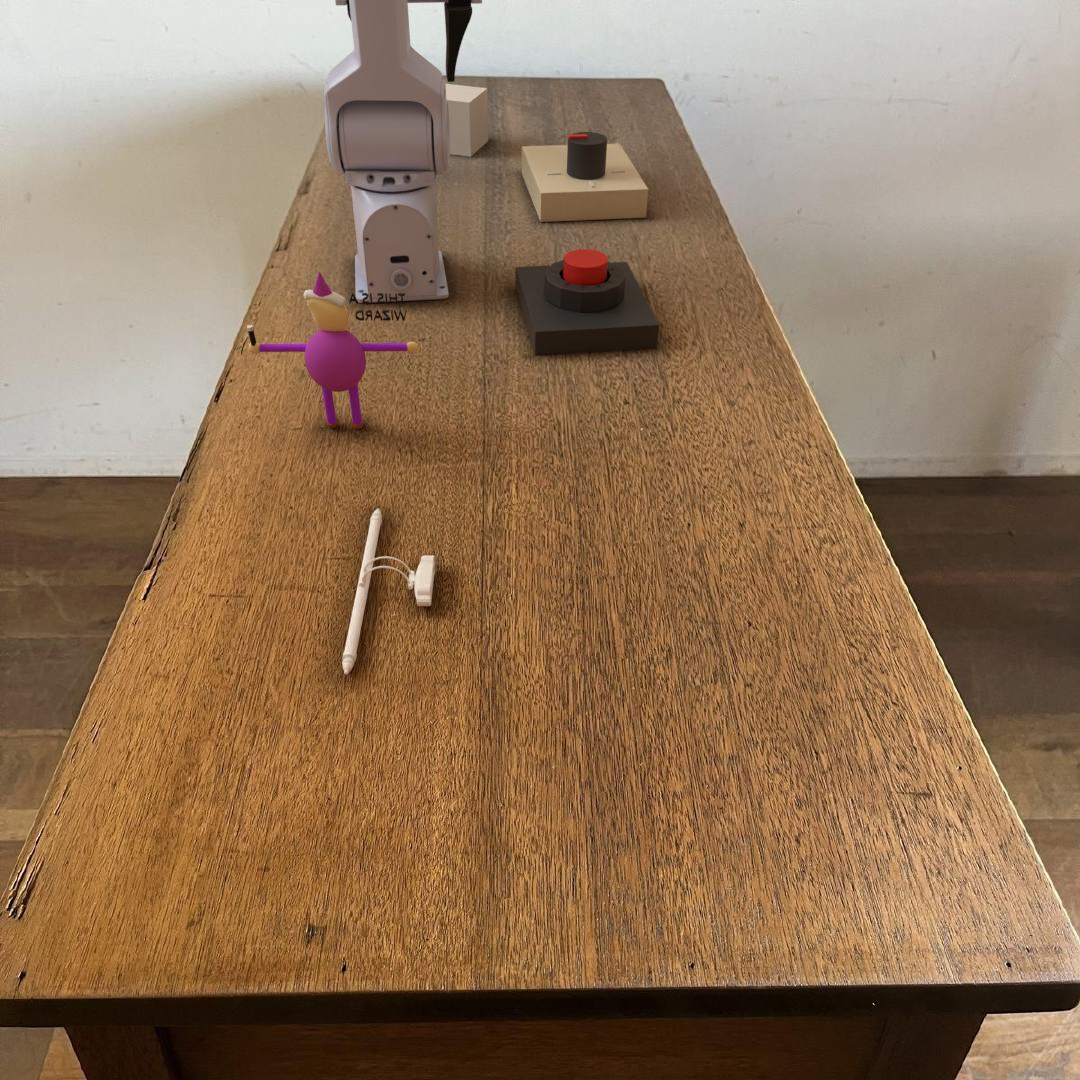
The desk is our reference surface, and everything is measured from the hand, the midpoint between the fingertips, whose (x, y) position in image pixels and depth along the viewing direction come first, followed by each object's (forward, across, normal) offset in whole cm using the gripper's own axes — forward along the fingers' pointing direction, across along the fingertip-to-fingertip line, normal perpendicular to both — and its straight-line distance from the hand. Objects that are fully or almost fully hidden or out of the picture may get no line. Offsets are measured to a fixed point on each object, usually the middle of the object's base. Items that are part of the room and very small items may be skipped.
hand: (413, 80), depth 103 cm
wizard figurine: (+10, +8, +51) cm, 53 cm away
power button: (+6, -12, +36) cm, 38 cm away
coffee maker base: (+10, -12, +36) cm, 39 cm away
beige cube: (+10, -5, -9) cm, 14 cm away
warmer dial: (+7, -17, +10) cm, 21 cm away
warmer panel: (+10, -17, +8) cm, 21 cm away
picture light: (+10, +6, +68) cm, 69 cm away
